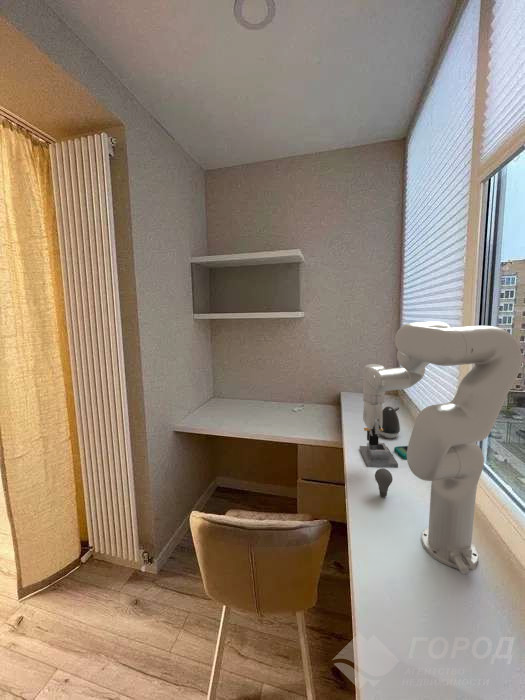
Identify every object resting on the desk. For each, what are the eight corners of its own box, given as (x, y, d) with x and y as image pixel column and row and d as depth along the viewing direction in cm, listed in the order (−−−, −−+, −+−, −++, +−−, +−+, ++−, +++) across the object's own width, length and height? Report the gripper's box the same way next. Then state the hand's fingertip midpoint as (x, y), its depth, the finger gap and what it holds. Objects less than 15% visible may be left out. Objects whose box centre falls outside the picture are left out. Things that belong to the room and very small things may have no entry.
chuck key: (364, 449, 107) (365, 427, 106) (363, 446, 110) (363, 424, 108) (383, 450, 106) (384, 428, 105) (381, 446, 109) (382, 425, 108)
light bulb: (392, 493, 97) (393, 467, 95) (391, 503, 92) (392, 476, 91) (375, 489, 99) (375, 463, 98) (373, 499, 95) (374, 472, 93)
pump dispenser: (404, 439, 135) (405, 409, 132) (384, 441, 133) (385, 411, 131) (391, 430, 145) (392, 402, 142) (373, 432, 143) (373, 404, 141)
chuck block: (398, 467, 112) (398, 456, 111) (367, 466, 114) (367, 455, 113) (385, 447, 128) (385, 436, 127) (358, 446, 130) (358, 436, 129)
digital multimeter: (436, 458, 118) (436, 451, 118) (402, 460, 117) (402, 454, 117) (425, 449, 126) (425, 443, 125) (393, 451, 125) (393, 445, 124)
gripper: (358, 390, 113) (357, 432, 116) (368, 404, 97) (367, 453, 100) (377, 390, 112) (376, 433, 115) (391, 405, 96) (389, 454, 99)
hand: (372, 442), depth 108 cm, fingers closed on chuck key, 2 cm apart
